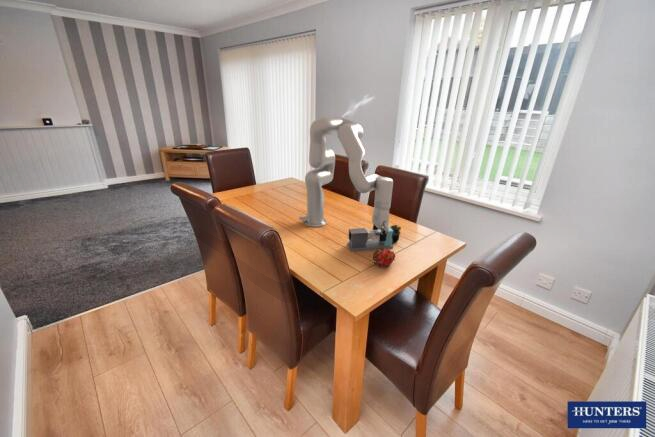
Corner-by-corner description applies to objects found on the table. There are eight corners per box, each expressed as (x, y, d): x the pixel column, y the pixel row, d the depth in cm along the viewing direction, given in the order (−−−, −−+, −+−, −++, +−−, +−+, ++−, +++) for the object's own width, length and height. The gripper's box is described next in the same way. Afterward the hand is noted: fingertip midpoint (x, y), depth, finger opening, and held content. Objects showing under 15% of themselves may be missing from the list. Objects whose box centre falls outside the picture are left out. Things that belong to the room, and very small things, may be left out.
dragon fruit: (369, 269, 121) (390, 267, 126) (380, 267, 114) (403, 265, 119) (366, 250, 123) (388, 248, 128) (377, 247, 116) (399, 245, 121)
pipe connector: (389, 219, 155) (408, 230, 143) (388, 228, 157) (407, 239, 145) (373, 224, 149) (392, 235, 138) (372, 233, 152) (391, 244, 140)
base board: (351, 252, 132) (351, 249, 131) (347, 244, 139) (347, 241, 138) (392, 248, 135) (392, 246, 135) (386, 240, 143) (386, 238, 142)
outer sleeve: (351, 248, 132) (351, 233, 129) (348, 243, 137) (349, 229, 134) (366, 247, 134) (368, 232, 131) (363, 242, 138) (364, 227, 135)
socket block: (384, 246, 135) (386, 231, 132) (380, 240, 141) (381, 226, 137) (391, 245, 136) (393, 231, 132) (386, 239, 141) (388, 225, 138)
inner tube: (360, 240, 133) (361, 233, 131) (358, 236, 136) (359, 230, 134) (390, 237, 135) (390, 231, 134) (387, 234, 138) (388, 228, 137)
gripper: (368, 198, 136) (366, 229, 143) (381, 211, 120) (378, 245, 127) (383, 197, 137) (379, 228, 144) (397, 210, 122) (393, 244, 129)
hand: (379, 236), depth 136 cm, fingers open, 8 cm apart
